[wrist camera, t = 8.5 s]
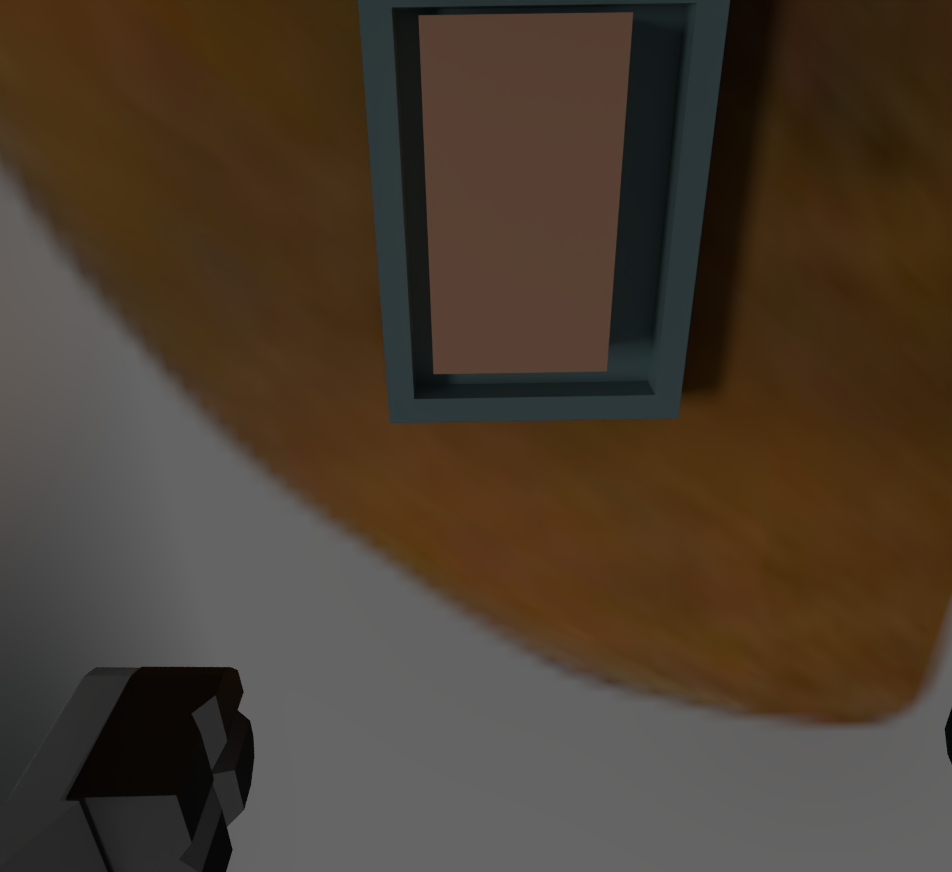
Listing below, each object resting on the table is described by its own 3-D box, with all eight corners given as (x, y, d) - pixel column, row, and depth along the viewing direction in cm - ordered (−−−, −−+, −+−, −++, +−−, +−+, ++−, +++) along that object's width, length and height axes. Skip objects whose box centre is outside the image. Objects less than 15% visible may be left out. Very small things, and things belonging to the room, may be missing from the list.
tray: (363, -25, 19) (355, -31, 17) (715, -31, 19) (734, -37, 18) (394, 402, 24) (389, 423, 23) (666, 398, 24) (678, 418, 23)
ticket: (423, 19, 19) (418, 14, 17) (617, 16, 19) (633, 12, 17) (436, 349, 23) (433, 374, 21) (595, 347, 23) (606, 371, 21)
